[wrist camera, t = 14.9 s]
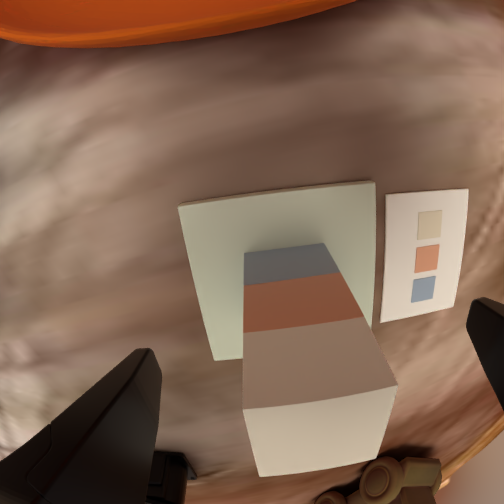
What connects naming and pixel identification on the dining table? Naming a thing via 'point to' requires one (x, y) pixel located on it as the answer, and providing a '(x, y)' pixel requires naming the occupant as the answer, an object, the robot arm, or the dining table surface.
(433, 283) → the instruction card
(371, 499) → the wooden toy train
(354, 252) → the plate
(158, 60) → the dining table surface
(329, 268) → the brick base
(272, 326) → the brick
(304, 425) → the brick
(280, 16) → the bowl
